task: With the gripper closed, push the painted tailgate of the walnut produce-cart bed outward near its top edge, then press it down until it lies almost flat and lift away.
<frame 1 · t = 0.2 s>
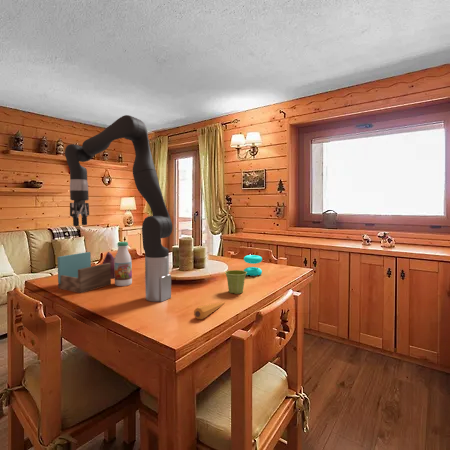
hand: (80, 225, 139), 28 cm above the table, tool pointing down, fingers open, 8 cm apart
milk bottle: (123, 284, 143), on the table
cart bed: (87, 286, 138), on the table
donuts: (252, 274, 164), on the table
tailgate: (74, 267, 142), point 8 cm above the table, hinge at 0.0°
vegetable: (111, 276, 158), on the table
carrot: (213, 312, 108), on the table
plant pot: (235, 292, 132), on the table
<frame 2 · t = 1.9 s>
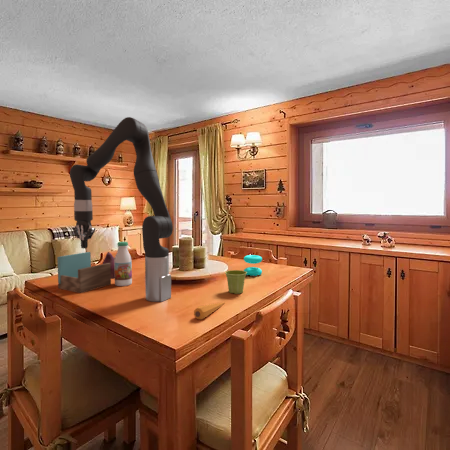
hand: (84, 248, 138), 18 cm above the table, tool pointing down, fingers closed
nothing on the table moved.
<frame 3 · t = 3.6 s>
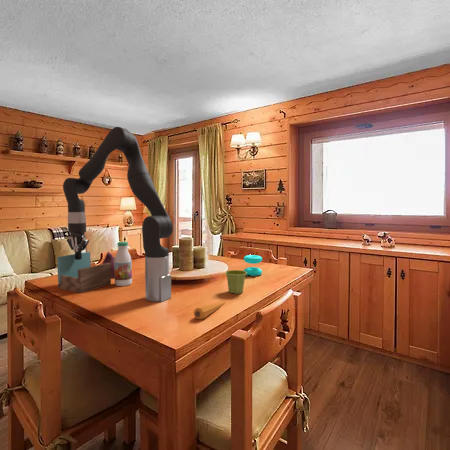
hand: (78, 259, 140), 12 cm above the table, tool pointing down, fingers closed
tailgate: (74, 267, 142), point 8 cm above the table, hinge at 1.3°, touching gripper
everything else where it was.
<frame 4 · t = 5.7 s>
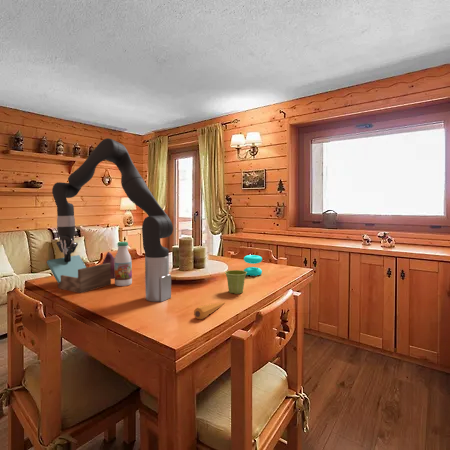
hand: (67, 261, 144), 10 cm above the table, tool pointing down, fingers closed
tailgate: (68, 269, 144), point 7 cm above the table, hinge at 42.3°, touching gripper
everything else where it was.
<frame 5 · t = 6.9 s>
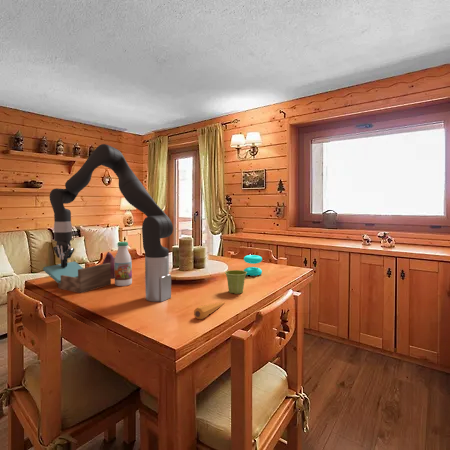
hand: (64, 266, 145), 8 cm above the table, tool pointing down, fingers closed
tailgate: (66, 272, 145), point 5 cm above the table, hinge at 65.4°, touching gripper
everything else where it was.
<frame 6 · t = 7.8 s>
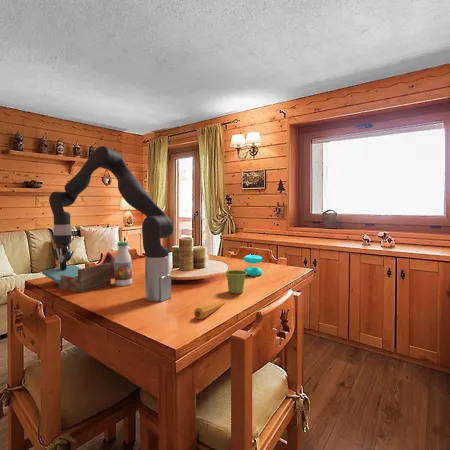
hand: (63, 269, 146), 6 cm above the table, tool pointing down, fingers closed
tailgate: (66, 274, 145), point 4 cm above the table, hinge at 74.9°, touching gripper
everything else where it was.
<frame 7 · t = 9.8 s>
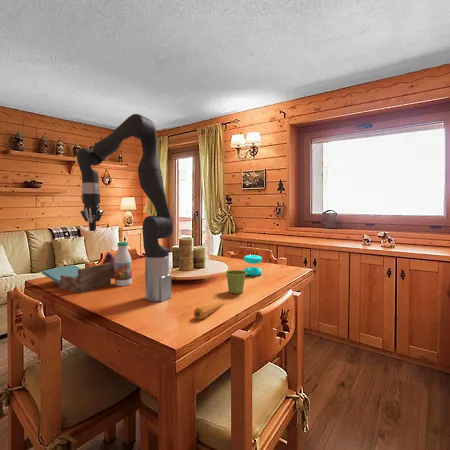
hand: (92, 230, 140), 25 cm above the table, tool pointing down, fingers closed
tailgate: (66, 274, 145), point 4 cm above the table, hinge at 74.9°
everything else where it was.
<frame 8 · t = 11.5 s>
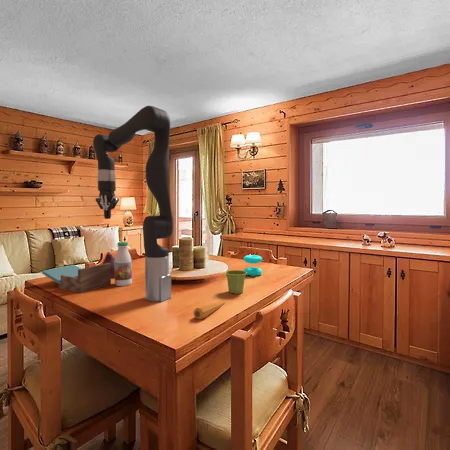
hand: (107, 218, 138), 31 cm above the table, tool pointing down, fingers closed
nothing on the table moved.
at the end: tailgate at +75° (first picture: +0°) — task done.
